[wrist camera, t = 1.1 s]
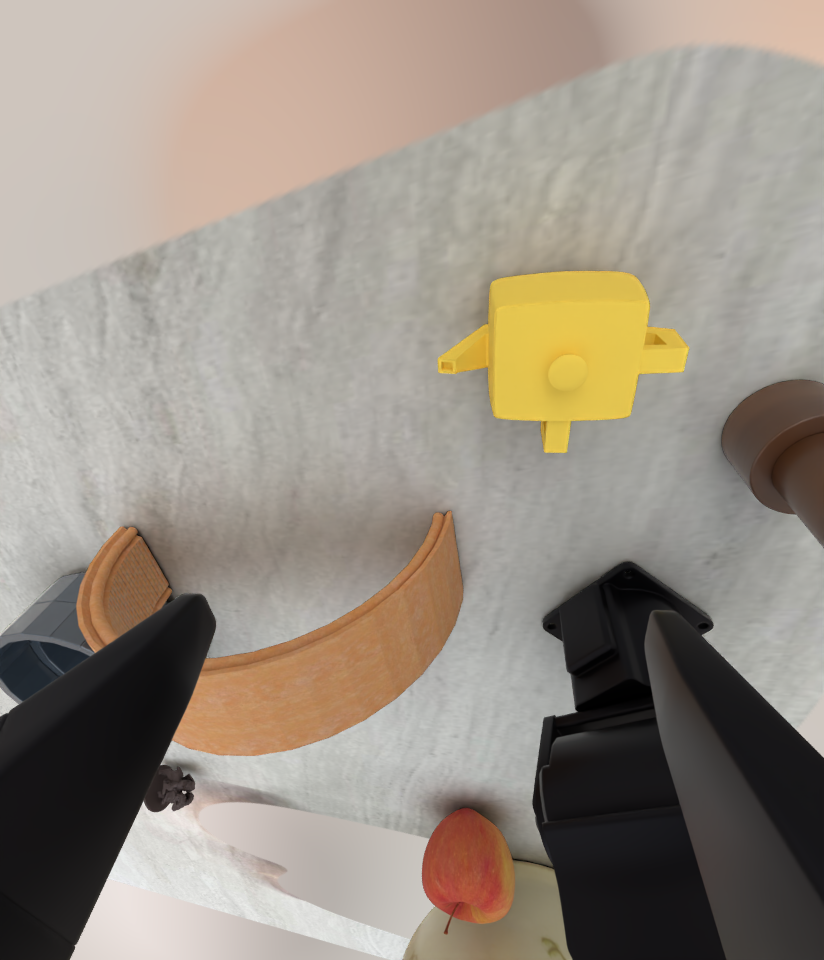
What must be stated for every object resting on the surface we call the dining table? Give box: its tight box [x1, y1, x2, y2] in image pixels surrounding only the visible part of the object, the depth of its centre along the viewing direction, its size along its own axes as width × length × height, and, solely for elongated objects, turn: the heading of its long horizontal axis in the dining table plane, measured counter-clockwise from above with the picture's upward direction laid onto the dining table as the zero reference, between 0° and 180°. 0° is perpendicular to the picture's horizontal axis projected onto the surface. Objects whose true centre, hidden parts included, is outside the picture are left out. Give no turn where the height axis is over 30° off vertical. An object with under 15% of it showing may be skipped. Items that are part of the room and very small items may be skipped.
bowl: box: [0, 573, 169, 704], centre depth 33 cm, size 11×11×6 cm
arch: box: [76, 511, 463, 756], centre depth 25 cm, size 6×20×10 cm, turn 99°
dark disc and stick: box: [144, 765, 195, 812], centre depth 44 cm, size 5×8×4 cm
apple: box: [422, 808, 515, 935], centre depth 39 cm, size 7×7×8 cm
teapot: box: [438, 271, 689, 453], centre depth 18 cm, size 8×6×5 cm
